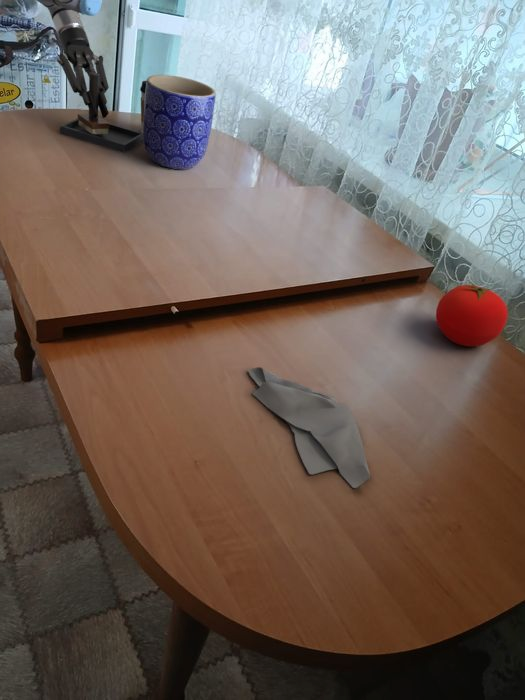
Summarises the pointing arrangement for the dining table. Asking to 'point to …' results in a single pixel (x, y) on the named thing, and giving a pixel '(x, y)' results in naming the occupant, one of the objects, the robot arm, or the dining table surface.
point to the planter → (177, 120)
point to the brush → (97, 123)
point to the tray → (104, 136)
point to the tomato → (471, 315)
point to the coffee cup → (142, 102)
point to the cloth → (316, 426)
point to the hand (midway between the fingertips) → (100, 115)
